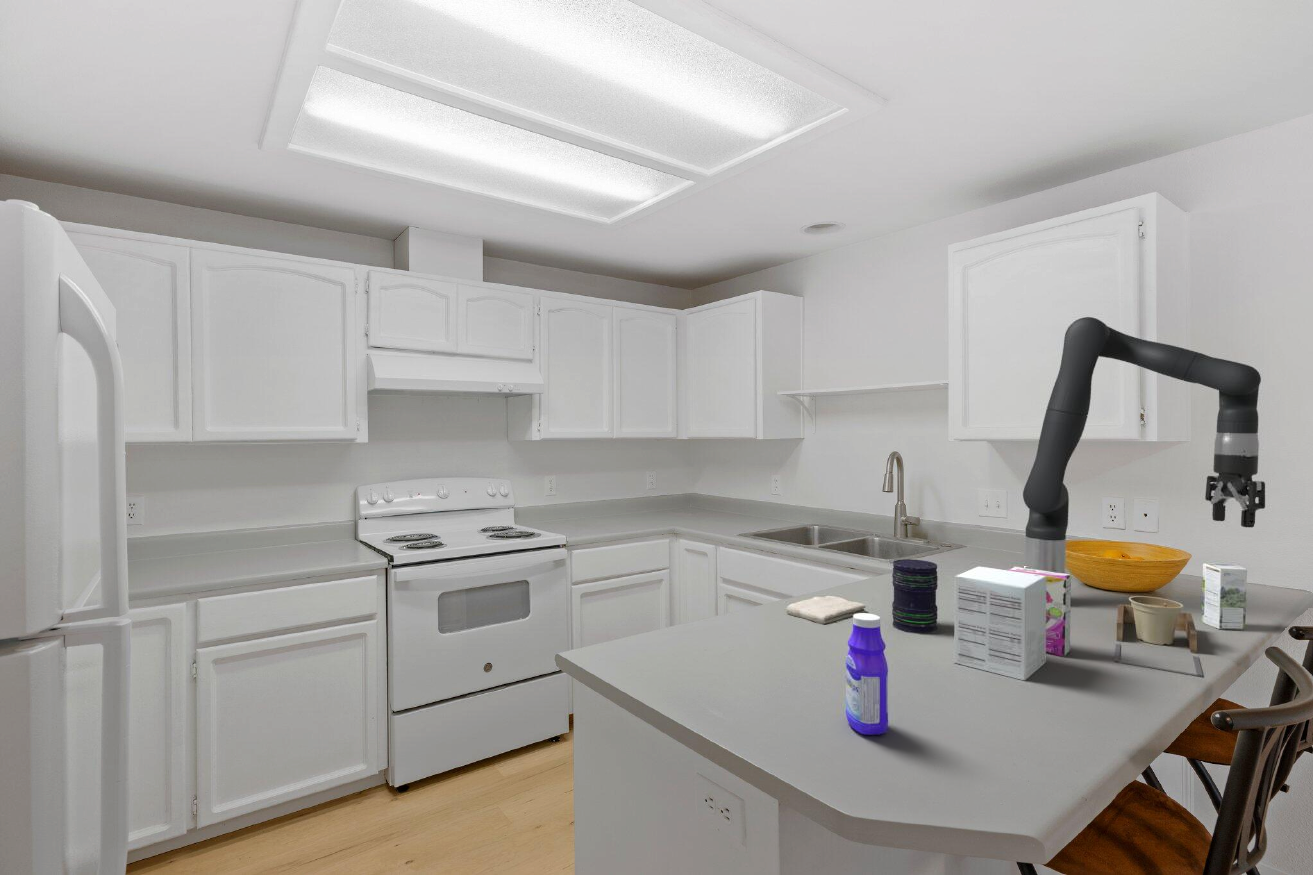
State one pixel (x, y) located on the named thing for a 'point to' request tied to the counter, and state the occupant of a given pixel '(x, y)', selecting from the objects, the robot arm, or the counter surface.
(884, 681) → the bottle
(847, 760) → the counter surface
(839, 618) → the washcloth
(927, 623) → the storage jar
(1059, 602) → the candy bar box
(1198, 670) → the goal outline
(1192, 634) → the brown wooden frame
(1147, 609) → the flower pot
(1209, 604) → the syrup box
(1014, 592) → the supplement box
